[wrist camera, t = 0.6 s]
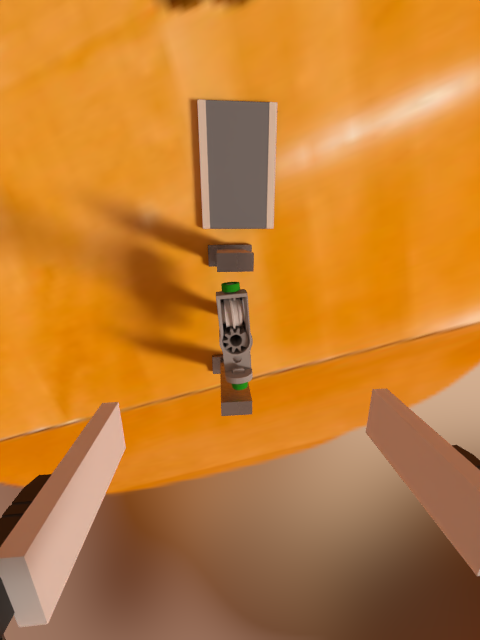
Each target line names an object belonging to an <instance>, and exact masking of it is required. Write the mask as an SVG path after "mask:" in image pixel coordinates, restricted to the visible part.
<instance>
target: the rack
mask: <svg viewBox="0 0 480 640" xmlns="http://www.w3.org/2000/svg"><path fill="white" fill-rule="evenodd" d="M251 251H252V245H208V256H209V266H217V272H243V271H253V264H254V253H253V252H251ZM250 357H251V355H250ZM212 360H213V374H221V413H222V416H229V415H246V414H252V398H251V394H250V389H249V384H248V386H247V388H245V389H243V390H235V389H233V388H232V384H231V383H229V382H227V381H226V377H225V367H224V358H223V355H212Z"/></svg>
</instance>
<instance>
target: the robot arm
mask: <svg viewBox="0 0 480 640" xmlns="http://www.w3.org/2000/svg"><path fill="white" fill-rule="evenodd" d="M366 433H367V435H368V436H369V437H370V438H371V440H372V441H373V442H374V444H375V445H376V446H377V448H378V449H379V450H380V451H381V452H382V454H383V455H384V457H385V458H386V459H387V460H388V462H389V463H390V464H391V466H392V467H393V468H394V469H395V471H396V472H397V473H398V475H399V476H400V477H401V478H402V480H403V481H404V482H405V484H406V485H407V486H408V487H409V489H410V490H411V491H412V493H413V494H414V495H415V497H416V498H417V499H418V501H419V502H420V503H421V504H422V506H423V507H424V508H425V510H426V511H427V512H428V513H429V515H430V516H431V517H432V519H433V520H434V521H435V522H436V524H437V525H438V526H439V528H440V529H441V530H442V532H443V533H444V534H445V535H446V537H447V538H448V539H449V541H450V542H451V543H452V544H453V546H454V547H455V548H456V550H457V551H458V552H459V553H460V555H461V556H462V557H463V558H464V560H465V561H466V563H468V565H469V566H470V567H471V569H472V570H473V572H474V573H475V574H476V575H477V576H480V460H479V459H478V458H476V457H475V456H474V455H473V454H471V453H469V452H468V451H466V450H464V449H462V448H461V447H459V446H457V445H450V444H449V443H448V442H447V441H446V440H445V439H443V438H442V437H441V436H440V435H439V434H438V433H437V432H435V431H434V430H433V429H432V428H431V427H430V426H429V425H427V424H426V423H425V422H424V421H423V420H422V419H421V418H419V417H418V416H417V415H416V414H415V413H414V412H412V411H411V410H410V409H409V408H408V407H407V406H406V405H405V404H403V403H402V402H401V401H400V400H399V399H398V398H397V397H395V396H394V395H393V394H392V393H391V392H390V391H389V390H387V389H373V391H372V397H371V403H370V409H369V416H368V422H367V428H366ZM125 448H126V447H125V440H124V434H123V428H122V422H121V415H120V409H119V403H118V402H114V403H102V404H101V406H100V407H99V408H98V410H97V411H96V413H95V414H94V416H93V417H92V418H91V420H90V421H89V423H88V424H87V425H86V427H85V428H84V430H83V431H82V432H81V434H80V435H79V437H78V438H77V440H76V441H75V442H74V444H73V445H72V447H71V448H70V449H69V451H68V452H67V454H66V455H65V456H64V458H63V459H62V461H61V462H60V464H59V465H58V466H57V468H56V469H55V471H54V472H53V473H52V474H49V475H39V476H38V477H36V478H35V479H34V480H33V481H31V482H30V483H29V484H28V485H27V486H25V487H24V488H23V489H22V491H21V492H20V493H19V495H18V496H17V497H16V498H15V500H14V501H13V502H12V505H11V506H9V507H8V509H7V510H6V511H5V512H4V514H3V515H2V518H0V640H6V639H5V637H4V634H3V633H4V632H5V630H6V628H7V626H8V624H9V622H10V621H11V618H12V617H13V615H14V616H15V619H16V621H17V623H18V626H19V627H26V626H35V625H44V624H48V622H49V620H50V618H51V615H52V613H53V611H54V609H55V606H56V604H57V602H58V600H59V597H60V595H61V593H62V591H63V588H64V586H65V584H66V581H67V579H68V577H69V575H70V572H71V570H72V568H73V565H74V563H75V561H76V559H77V557H78V554H79V552H80V550H81V547H82V545H83V543H84V541H85V539H86V536H87V534H88V532H89V530H90V527H91V525H92V523H93V520H94V518H95V516H96V514H97V512H98V509H99V507H100V505H101V502H102V500H103V498H104V496H105V493H106V491H107V489H108V487H109V484H110V482H111V480H112V478H113V475H114V473H115V471H116V469H117V466H118V464H119V462H120V460H121V457H122V455H123V453H124V451H125Z"/></svg>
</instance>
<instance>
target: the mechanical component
mask: <svg viewBox="0 0 480 640" xmlns="http://www.w3.org/2000/svg"><path fill="white" fill-rule="evenodd" d="M221 285H222V291H221V292H216V300H217V309H218V318H219V327H220V329H219V337H220V347H221V349H222V351H223V358H224V367H225V377H226V381H227V382H229V383H231V384H232V388H233V389H235V390H243V389H245V388H247V386H248V381H250V380H251V379H252V369H251V357H250V350H251V346H252V336H251V333H250V323H249V309H248V296H247V292H246V290H244V289H241V290H240V286H239V282H227V283H223V284H221Z"/></svg>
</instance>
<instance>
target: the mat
mask: <svg viewBox="0 0 480 640" xmlns="http://www.w3.org/2000/svg"><path fill="white" fill-rule="evenodd" d="M197 103H198V126H199V149H200V173H201V196H202V219H203V229H273V227H274V195H275V163H276V131H277V102H245V101H217V100H197Z"/></svg>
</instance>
